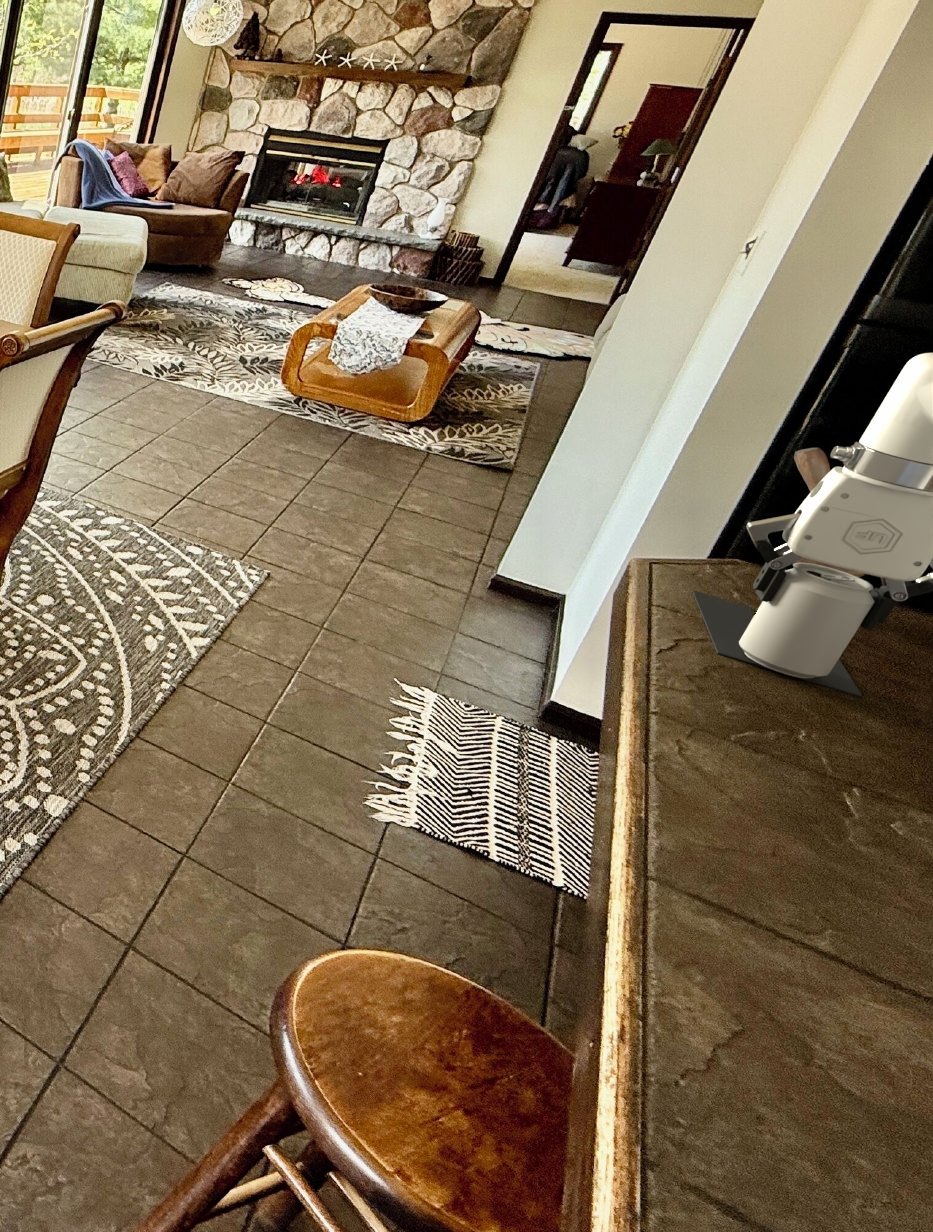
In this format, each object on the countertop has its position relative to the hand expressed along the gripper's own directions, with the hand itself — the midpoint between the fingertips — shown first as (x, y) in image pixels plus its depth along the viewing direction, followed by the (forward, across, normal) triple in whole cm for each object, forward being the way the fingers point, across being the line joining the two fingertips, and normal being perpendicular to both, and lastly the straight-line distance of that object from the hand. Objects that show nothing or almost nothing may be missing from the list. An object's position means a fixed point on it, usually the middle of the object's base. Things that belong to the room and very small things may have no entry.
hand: (811, 609), depth 104 cm
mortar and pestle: (+8, +5, +27) cm, 29 cm away
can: (+7, 0, 0) cm, 7 cm away
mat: (+8, +1, +8) cm, 11 cm away
